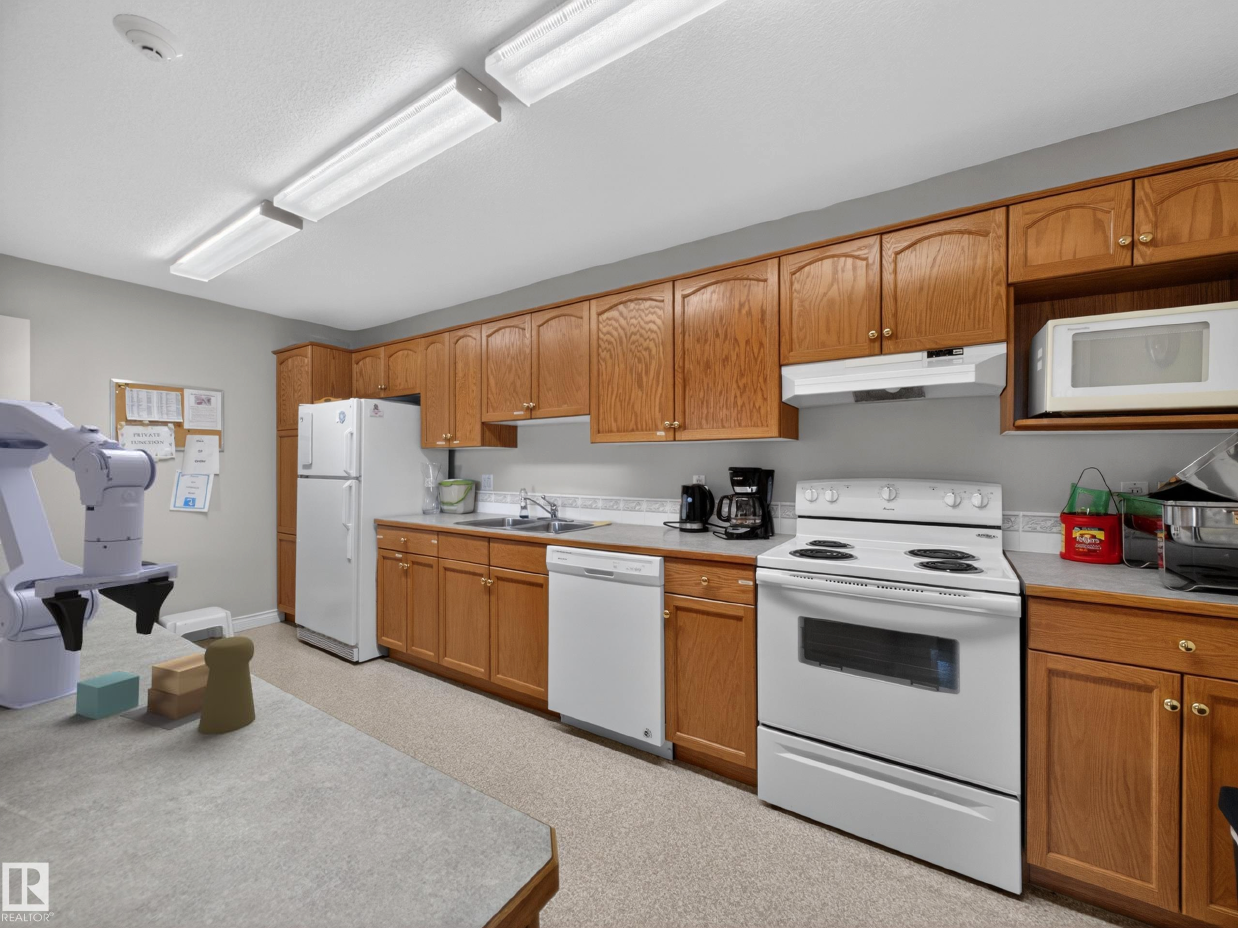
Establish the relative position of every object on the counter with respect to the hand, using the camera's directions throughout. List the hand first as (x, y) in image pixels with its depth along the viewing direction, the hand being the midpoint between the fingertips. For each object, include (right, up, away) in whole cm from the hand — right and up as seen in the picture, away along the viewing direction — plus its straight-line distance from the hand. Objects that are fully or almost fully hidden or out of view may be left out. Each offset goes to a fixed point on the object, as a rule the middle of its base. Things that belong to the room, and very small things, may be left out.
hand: (110, 641), depth 72 cm
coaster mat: (+9, -10, +1) cm, 13 cm away
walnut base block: (+9, -9, +1) cm, 13 cm away
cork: (+18, -10, -3) cm, 21 cm away
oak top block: (+9, -6, +1) cm, 11 cm away
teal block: (0, -10, 0) cm, 10 cm away
